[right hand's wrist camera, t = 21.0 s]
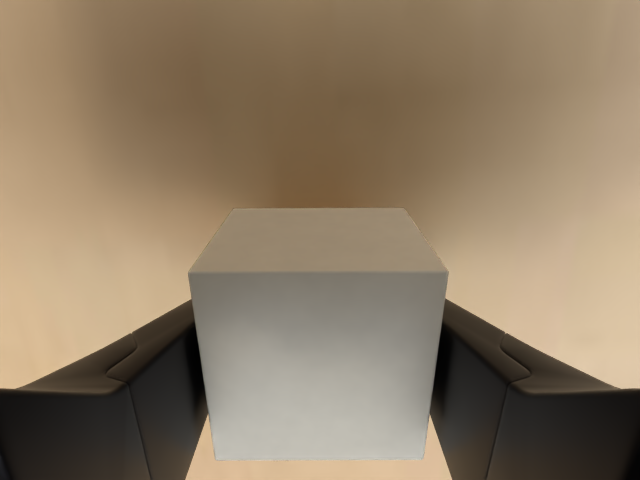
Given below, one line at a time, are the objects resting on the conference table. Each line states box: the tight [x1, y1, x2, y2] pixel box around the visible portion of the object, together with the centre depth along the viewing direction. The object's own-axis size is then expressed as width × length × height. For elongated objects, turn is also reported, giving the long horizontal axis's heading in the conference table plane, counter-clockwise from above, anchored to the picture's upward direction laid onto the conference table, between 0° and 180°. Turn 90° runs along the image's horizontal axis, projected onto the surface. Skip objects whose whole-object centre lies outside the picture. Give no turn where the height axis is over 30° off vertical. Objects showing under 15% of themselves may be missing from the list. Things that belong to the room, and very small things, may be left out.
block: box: [188, 208, 449, 460], centre depth 10 cm, size 5×5×4 cm
